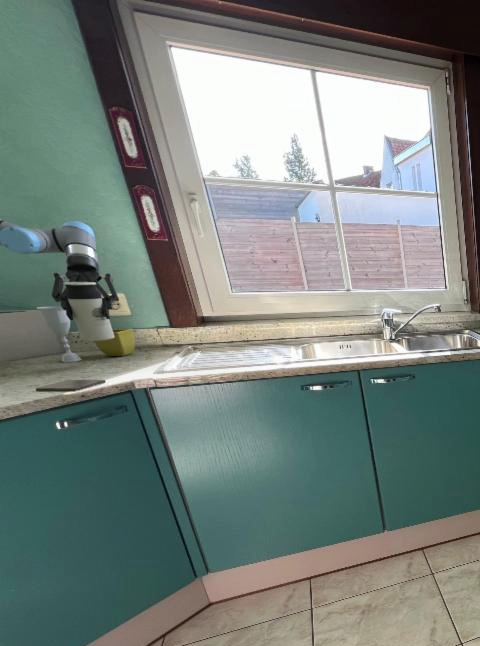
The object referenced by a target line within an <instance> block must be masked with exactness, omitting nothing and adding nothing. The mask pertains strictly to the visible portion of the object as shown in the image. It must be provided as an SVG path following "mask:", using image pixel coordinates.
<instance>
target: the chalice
mask: <svg viewBox="0 0 480 646" xmlns="http://www.w3.org/2000/svg"><path fill="white" fill-rule="evenodd" d="M36 309H37V310H38V311H39V313H40V315H41V318H42V320H43V323H44V324H45V325H46V326H47V328H48V329H49V330H51V332H52V333H54V334H55V335H56V336H60V338H61V343H62V344H63V346H62V347H63V348H64V349H65V353H63V354H62V357H61V359H62V360H61V362H62V361H63V362H62V363H73V362H79V361H83V359H82V358H80V356H79V355H78V354H77V353H76V352H72V350H71V349H70V347H71V346H70V345H69V343H68V342H69V340H68V339H67V337H66V335H68V334H69V331H70V329H71V320H70V319H69V318H68V316H67V315H66V310H63V308H62V307H61V305H60V306H59V305H54V306H53V305H52V306H51V305H49V306H38V307H36Z"/></svg>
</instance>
